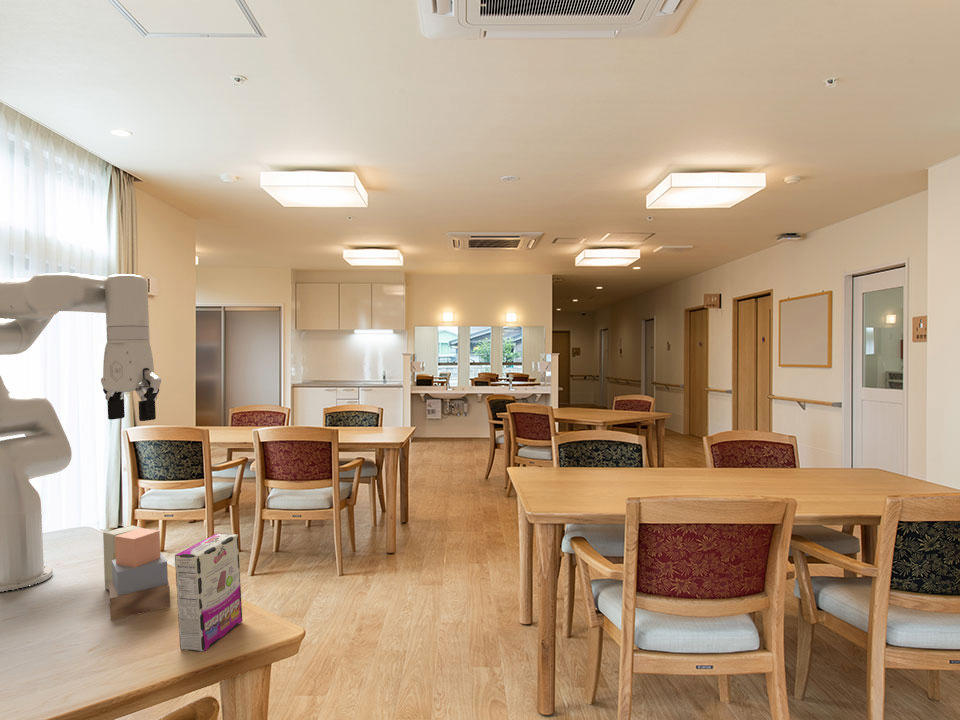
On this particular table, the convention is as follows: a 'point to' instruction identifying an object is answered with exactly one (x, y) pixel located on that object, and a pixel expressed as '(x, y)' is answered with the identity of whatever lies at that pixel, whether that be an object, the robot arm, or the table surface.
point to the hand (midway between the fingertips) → (131, 419)
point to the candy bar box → (208, 591)
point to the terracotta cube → (137, 547)
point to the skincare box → (112, 550)
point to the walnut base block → (138, 601)
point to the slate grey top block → (139, 576)
